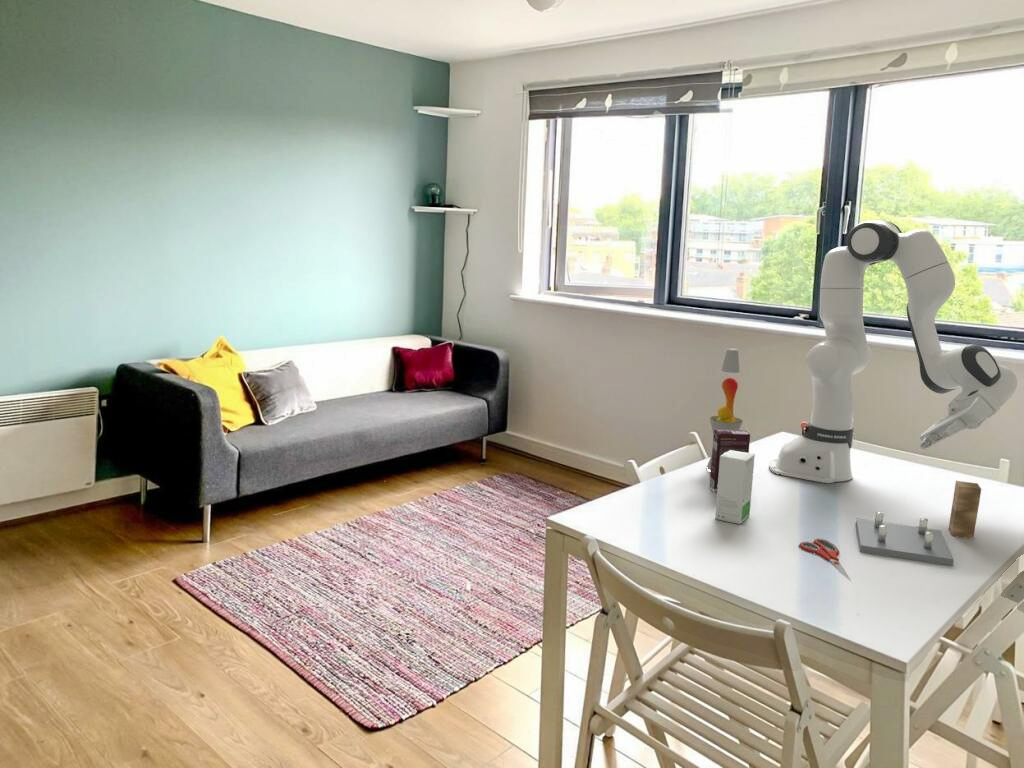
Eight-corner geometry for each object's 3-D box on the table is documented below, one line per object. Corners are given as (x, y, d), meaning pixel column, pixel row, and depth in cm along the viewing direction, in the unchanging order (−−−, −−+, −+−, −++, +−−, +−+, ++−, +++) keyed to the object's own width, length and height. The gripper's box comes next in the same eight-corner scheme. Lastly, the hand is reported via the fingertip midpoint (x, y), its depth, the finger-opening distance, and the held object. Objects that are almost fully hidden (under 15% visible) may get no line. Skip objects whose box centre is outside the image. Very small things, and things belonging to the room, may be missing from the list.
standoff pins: (877, 542, 180) (879, 527, 180) (873, 525, 190) (875, 511, 190) (931, 550, 177) (934, 534, 176) (925, 533, 187) (927, 518, 186)
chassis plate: (860, 551, 178) (860, 545, 178) (855, 524, 195) (856, 518, 195) (952, 566, 173) (953, 559, 172) (939, 536, 189) (940, 530, 189)
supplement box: (740, 487, 220) (745, 429, 216) (745, 493, 215) (751, 434, 212) (708, 486, 219) (713, 428, 216) (712, 492, 215) (718, 433, 211)
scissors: (850, 586, 162) (851, 580, 161) (793, 545, 182) (793, 539, 182) (884, 584, 163) (885, 577, 163) (824, 543, 183) (824, 537, 183)
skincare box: (740, 525, 191) (746, 461, 188) (712, 519, 195) (718, 455, 192) (750, 515, 198) (756, 453, 195) (723, 509, 202) (729, 448, 199)
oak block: (951, 535, 190) (959, 486, 188) (948, 529, 194) (955, 480, 192) (973, 538, 189) (981, 489, 186) (969, 532, 193) (977, 483, 190)
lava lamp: (715, 463, 240) (726, 345, 233) (743, 471, 234) (755, 349, 227) (699, 469, 234) (709, 348, 227) (727, 477, 228) (739, 352, 221)
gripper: (933, 415, 215) (900, 444, 211) (986, 385, 197) (951, 416, 192) (951, 434, 214) (918, 463, 209) (1005, 406, 195) (971, 437, 191)
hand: (934, 440), depth 201 cm, fingers open, 8 cm apart
